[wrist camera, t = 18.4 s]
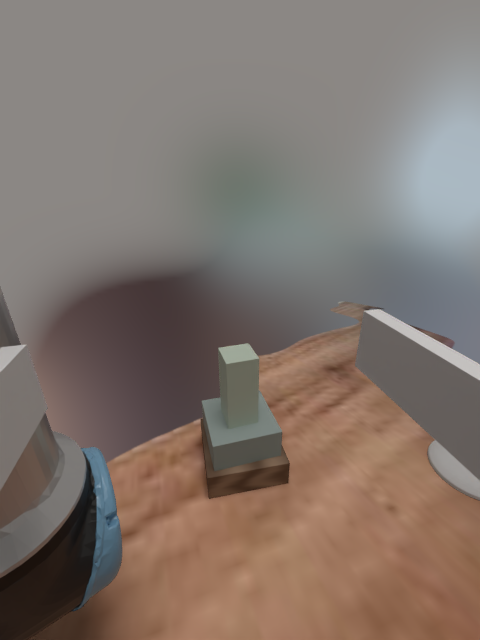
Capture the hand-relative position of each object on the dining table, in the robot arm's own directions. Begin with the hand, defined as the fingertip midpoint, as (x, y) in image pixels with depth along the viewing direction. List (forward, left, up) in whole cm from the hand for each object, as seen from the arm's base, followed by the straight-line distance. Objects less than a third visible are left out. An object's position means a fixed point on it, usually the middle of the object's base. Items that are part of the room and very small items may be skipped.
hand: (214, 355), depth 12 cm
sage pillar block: (+6, +29, -28) cm, 41 cm away
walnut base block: (+6, +28, -38) cm, 48 cm away
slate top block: (+6, +29, -33) cm, 44 cm away
